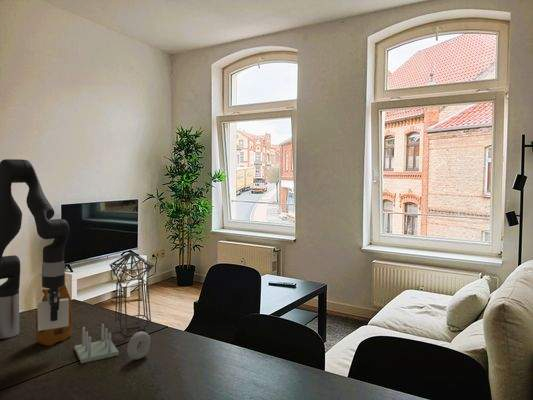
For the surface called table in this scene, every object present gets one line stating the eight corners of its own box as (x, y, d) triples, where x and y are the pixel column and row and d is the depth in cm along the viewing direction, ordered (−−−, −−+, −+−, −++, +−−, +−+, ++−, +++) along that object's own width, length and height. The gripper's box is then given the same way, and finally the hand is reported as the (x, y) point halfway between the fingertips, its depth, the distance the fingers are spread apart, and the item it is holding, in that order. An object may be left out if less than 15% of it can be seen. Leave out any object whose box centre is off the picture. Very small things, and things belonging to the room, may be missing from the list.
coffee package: (31, 343, 161) (31, 288, 161) (58, 332, 173) (58, 282, 172) (49, 347, 158) (49, 291, 157) (75, 336, 169) (75, 284, 168)
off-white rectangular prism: (37, 328, 148) (37, 302, 148) (67, 324, 154) (67, 298, 153) (38, 331, 146) (38, 303, 146) (68, 326, 152) (68, 299, 151)
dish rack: (74, 349, 156) (74, 327, 156) (109, 342, 163) (109, 322, 163) (81, 363, 144) (81, 339, 144) (118, 355, 152) (118, 332, 151)
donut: (131, 365, 144) (131, 337, 143) (124, 362, 145) (125, 335, 145) (152, 355, 152) (152, 328, 152) (145, 352, 154) (145, 327, 154)
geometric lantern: (156, 334, 174) (155, 253, 171) (118, 342, 165) (117, 257, 162) (145, 322, 187) (144, 248, 184) (109, 330, 178) (107, 251, 175)
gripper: (40, 270, 153) (40, 315, 153) (43, 278, 141) (43, 327, 142) (62, 268, 157) (62, 312, 158) (67, 276, 145) (67, 323, 146)
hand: (53, 319), depth 150 cm, fingers closed on off-white rectangular prism, 2 cm apart
